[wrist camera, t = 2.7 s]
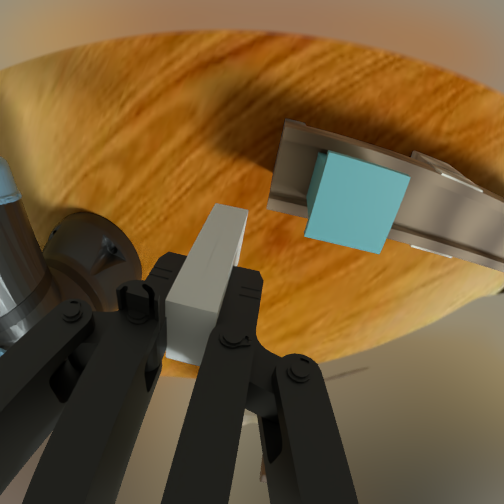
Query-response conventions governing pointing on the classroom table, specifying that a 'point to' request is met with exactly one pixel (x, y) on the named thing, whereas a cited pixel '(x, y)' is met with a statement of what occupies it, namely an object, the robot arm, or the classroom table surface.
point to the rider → (353, 201)
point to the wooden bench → (413, 203)
